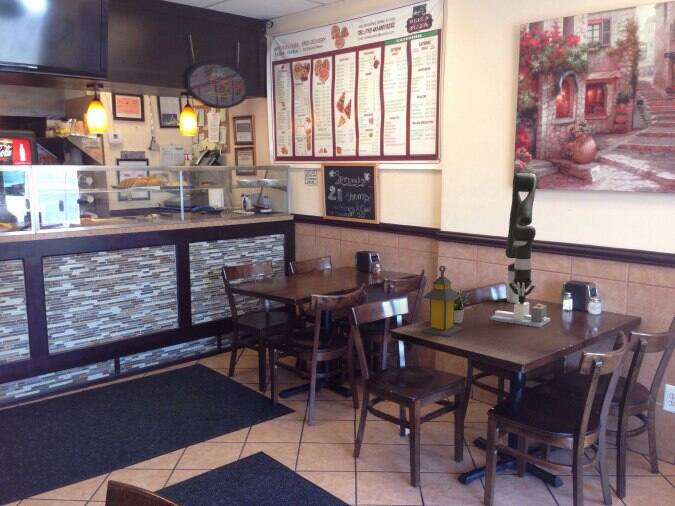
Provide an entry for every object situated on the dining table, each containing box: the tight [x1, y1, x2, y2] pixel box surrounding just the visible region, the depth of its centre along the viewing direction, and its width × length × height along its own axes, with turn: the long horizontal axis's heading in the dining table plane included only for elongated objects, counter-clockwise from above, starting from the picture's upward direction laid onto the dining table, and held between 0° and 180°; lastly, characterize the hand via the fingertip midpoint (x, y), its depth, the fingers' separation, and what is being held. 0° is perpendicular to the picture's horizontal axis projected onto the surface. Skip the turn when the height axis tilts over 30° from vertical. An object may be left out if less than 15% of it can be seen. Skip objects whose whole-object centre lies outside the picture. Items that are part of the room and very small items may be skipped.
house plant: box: [454, 288, 472, 324], centre depth 286 cm, size 14×14×16 cm
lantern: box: [421, 265, 463, 338], centre depth 271 cm, size 14×14×30 cm
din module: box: [513, 301, 530, 320], centre depth 288 cm, size 8×4×7 cm, turn 142°
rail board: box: [490, 303, 551, 328], centre depth 288 cm, size 14×24×9 cm, turn 52°
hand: (521, 303), depth 288 cm, fingers closed
